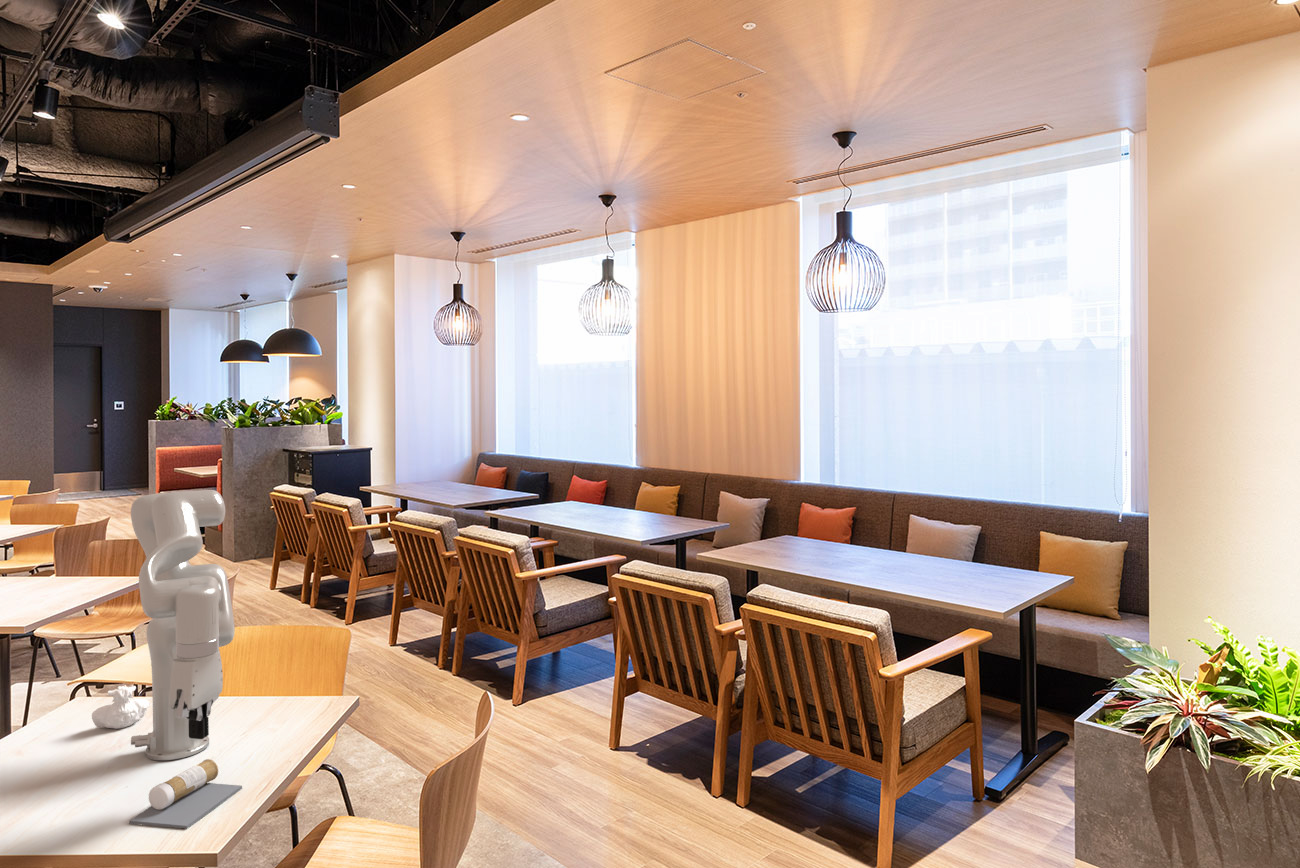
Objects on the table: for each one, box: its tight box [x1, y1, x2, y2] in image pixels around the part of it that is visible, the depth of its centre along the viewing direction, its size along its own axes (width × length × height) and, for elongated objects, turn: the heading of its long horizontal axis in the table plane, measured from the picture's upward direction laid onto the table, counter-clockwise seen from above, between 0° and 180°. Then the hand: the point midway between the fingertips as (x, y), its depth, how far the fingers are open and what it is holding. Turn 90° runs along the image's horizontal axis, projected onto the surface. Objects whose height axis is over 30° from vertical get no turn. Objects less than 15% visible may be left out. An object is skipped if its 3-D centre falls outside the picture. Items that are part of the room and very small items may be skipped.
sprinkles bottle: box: [148, 758, 219, 810], centre depth 163 cm, size 5×5×13 cm
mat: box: [128, 782, 243, 830], centre depth 160 cm, size 16×12×1 cm
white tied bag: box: [91, 684, 150, 730], centre depth 198 cm, size 12×8×11 cm
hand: (198, 736), depth 163 cm, fingers closed
